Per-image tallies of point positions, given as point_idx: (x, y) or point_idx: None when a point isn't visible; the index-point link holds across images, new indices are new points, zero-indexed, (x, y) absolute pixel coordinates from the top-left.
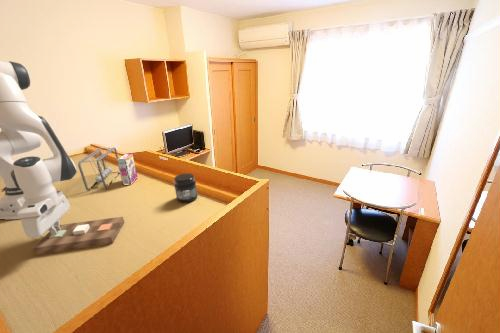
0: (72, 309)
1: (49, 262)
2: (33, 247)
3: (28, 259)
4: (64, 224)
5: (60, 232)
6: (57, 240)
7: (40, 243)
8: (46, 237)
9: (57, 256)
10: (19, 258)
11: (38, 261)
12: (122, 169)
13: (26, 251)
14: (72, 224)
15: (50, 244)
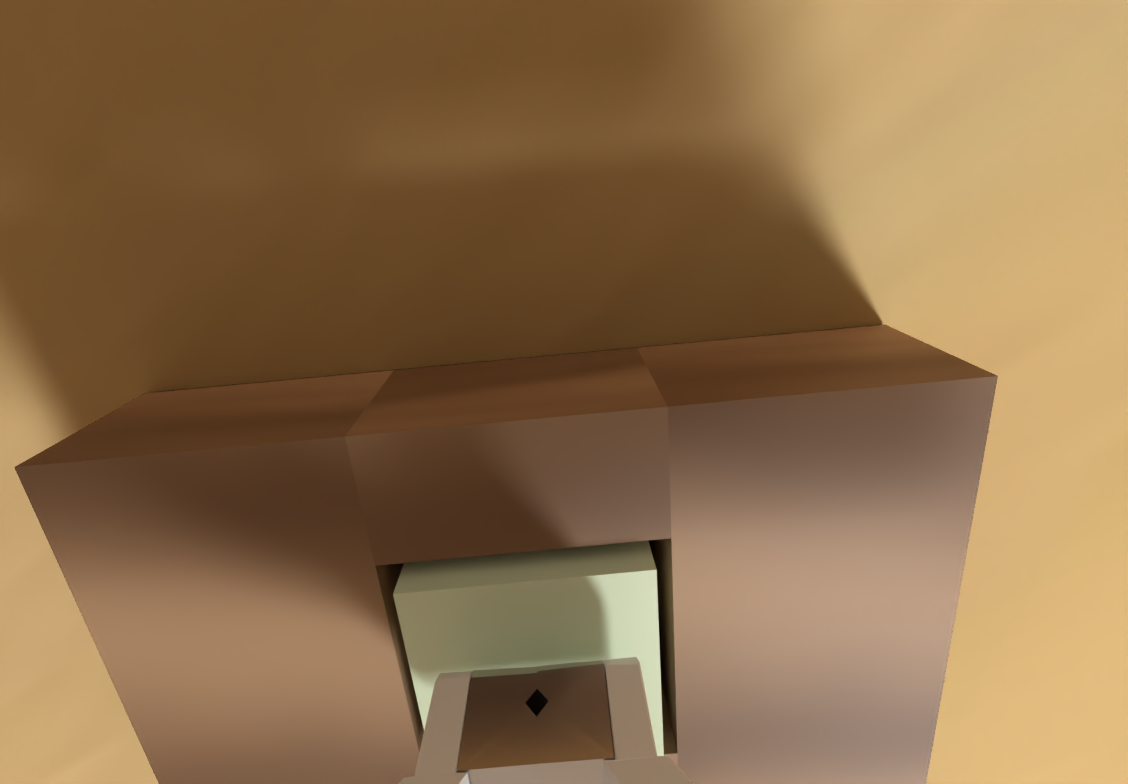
0: None
1: (13, 712)
2: (39, 467)
3: (15, 345)
4: (956, 572)
5: None
6: (312, 776)
7: (201, 519)
8: (434, 502)
9: None
10: (8, 117)
11: (2, 553)
12: None
13: (234, 90)
14: (880, 734)
15: (176, 740)
